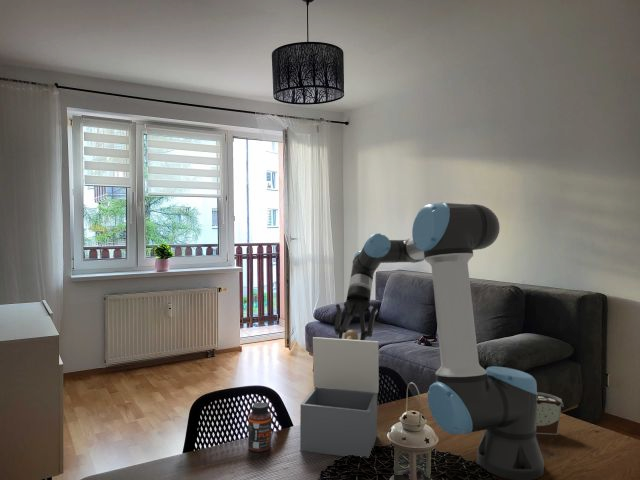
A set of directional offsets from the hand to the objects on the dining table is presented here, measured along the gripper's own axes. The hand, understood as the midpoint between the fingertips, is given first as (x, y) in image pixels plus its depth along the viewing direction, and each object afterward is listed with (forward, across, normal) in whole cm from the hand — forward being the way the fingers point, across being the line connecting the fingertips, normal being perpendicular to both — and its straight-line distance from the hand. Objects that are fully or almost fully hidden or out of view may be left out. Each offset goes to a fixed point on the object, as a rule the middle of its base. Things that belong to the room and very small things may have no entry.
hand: (349, 354), depth 137 cm
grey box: (+23, 0, -6) cm, 24 cm away
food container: (+7, -53, -23) cm, 58 cm away
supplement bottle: (+29, +20, 0) cm, 35 cm away
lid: (+5, 0, +3) cm, 6 cm away
